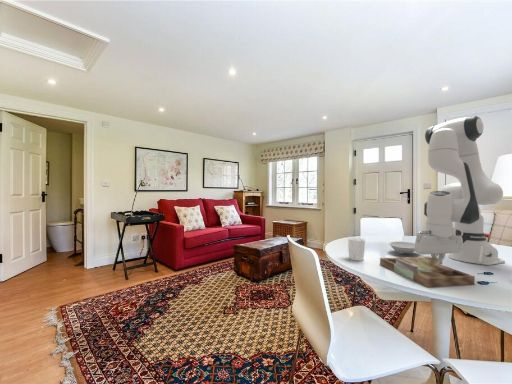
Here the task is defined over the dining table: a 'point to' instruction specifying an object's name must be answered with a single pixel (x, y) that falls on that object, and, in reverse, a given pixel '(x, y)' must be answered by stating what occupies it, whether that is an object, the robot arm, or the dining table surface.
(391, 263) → the brown wooden compartment tray
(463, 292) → the dining table surface
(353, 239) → the white cup
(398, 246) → the dish
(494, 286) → the dining table surface
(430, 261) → the maple block
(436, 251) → the robot arm
